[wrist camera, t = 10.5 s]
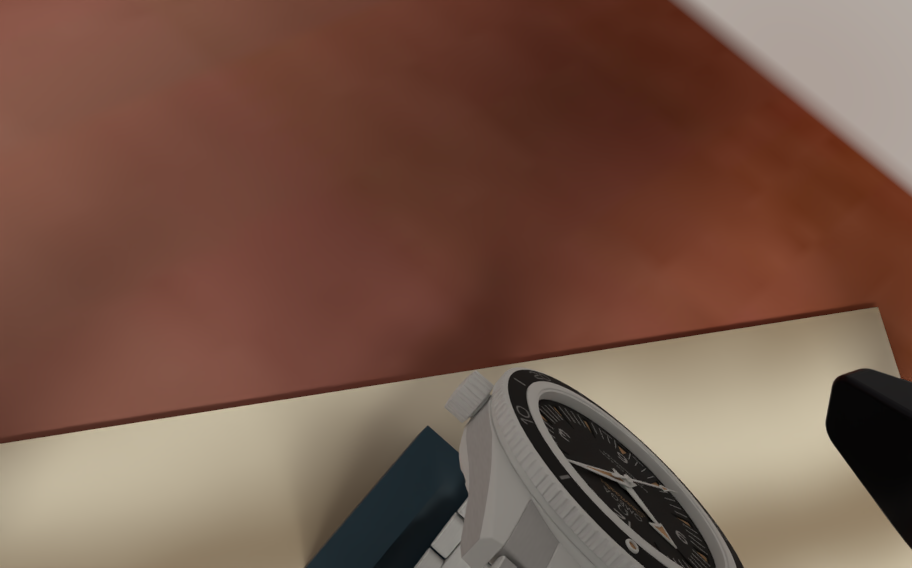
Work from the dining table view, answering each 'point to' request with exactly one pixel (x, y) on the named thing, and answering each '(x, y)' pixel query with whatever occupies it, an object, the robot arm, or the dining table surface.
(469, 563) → the watch
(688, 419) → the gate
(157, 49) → the dining table surface
